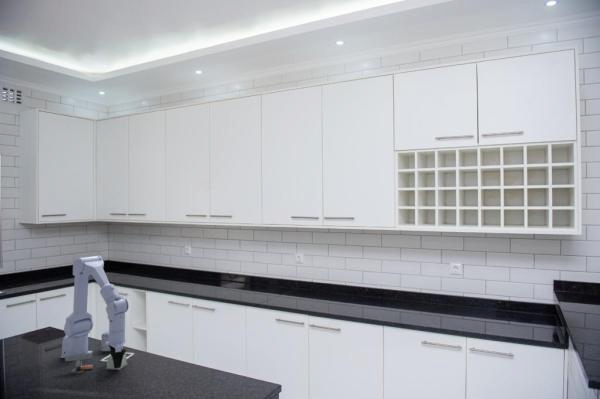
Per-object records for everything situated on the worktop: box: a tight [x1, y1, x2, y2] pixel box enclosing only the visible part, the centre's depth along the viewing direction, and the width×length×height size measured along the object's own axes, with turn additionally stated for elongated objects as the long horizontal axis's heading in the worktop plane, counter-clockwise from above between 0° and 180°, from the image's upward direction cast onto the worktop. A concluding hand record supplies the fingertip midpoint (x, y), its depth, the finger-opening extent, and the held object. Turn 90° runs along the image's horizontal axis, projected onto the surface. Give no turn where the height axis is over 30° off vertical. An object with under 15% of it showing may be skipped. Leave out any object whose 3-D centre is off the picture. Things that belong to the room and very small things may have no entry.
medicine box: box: [101, 330, 124, 352], centre depth 171 cm, size 8×4×9 cm, turn 92°
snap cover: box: [106, 354, 127, 370], centre depth 154 cm, size 5×5×4 cm
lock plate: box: [71, 363, 128, 374], centre depth 151 cm, size 22×12×1 cm, turn 81°
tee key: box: [64, 351, 93, 371], centre depth 150 cm, size 9×2×6 cm, turn 109°
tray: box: [99, 352, 136, 363], centre depth 162 cm, size 10×10×2 cm
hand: (116, 364), depth 154 cm, fingers closed on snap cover, 7 cm apart
